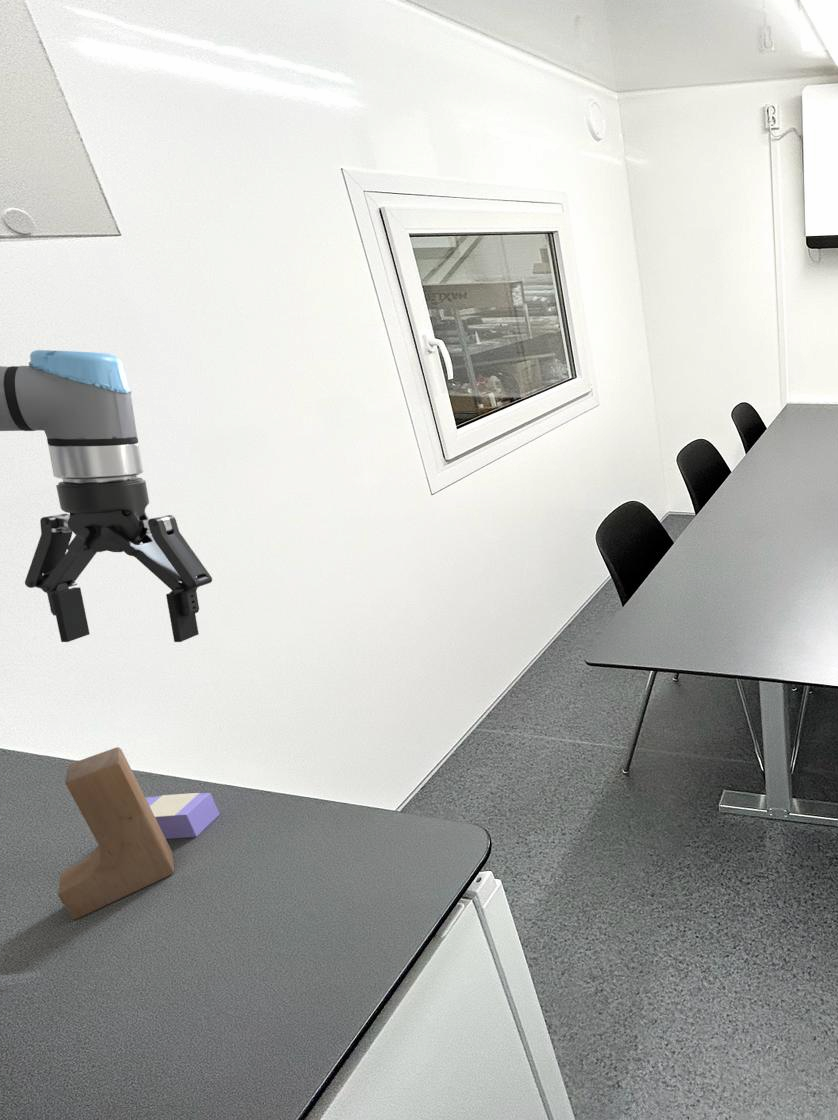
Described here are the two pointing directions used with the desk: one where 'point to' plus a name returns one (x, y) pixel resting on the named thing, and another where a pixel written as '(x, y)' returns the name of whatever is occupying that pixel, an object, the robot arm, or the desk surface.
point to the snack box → (183, 813)
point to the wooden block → (112, 835)
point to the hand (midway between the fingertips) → (131, 638)
